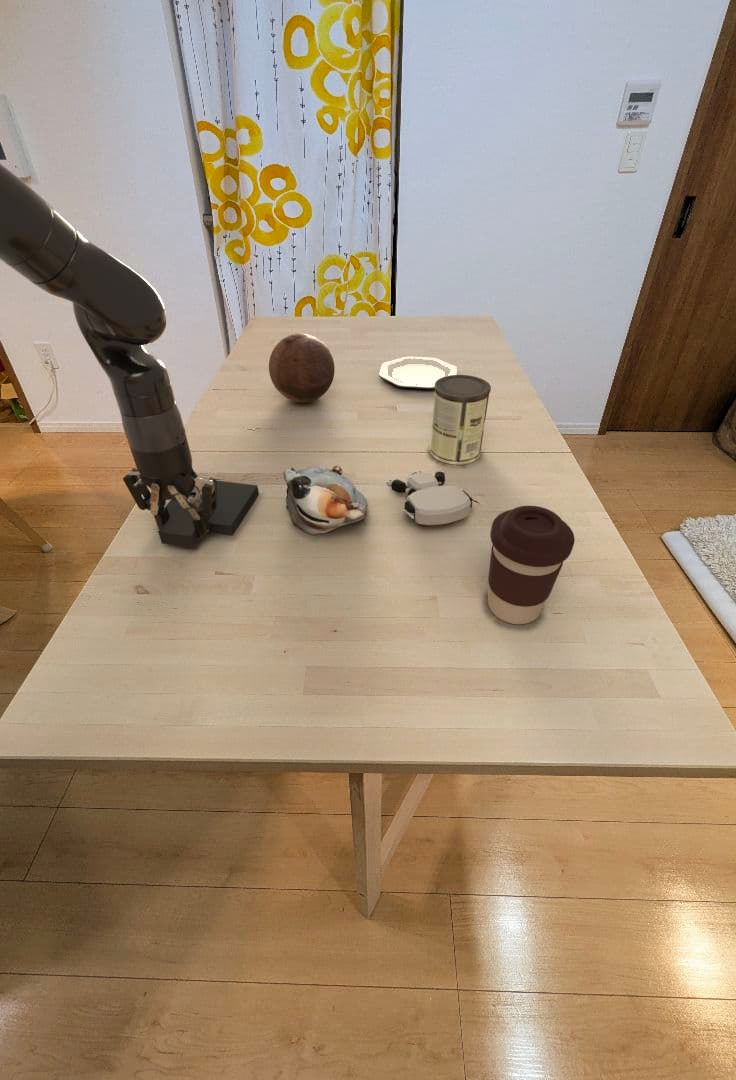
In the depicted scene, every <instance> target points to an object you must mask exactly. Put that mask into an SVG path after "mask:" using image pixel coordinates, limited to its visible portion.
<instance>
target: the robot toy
mask: <svg viewBox="0 0 736 1080" xmlns="http://www.w3.org/2000/svg"><path fill="white" fill-rule="evenodd" d="M445 483H446V473H445V471H444V470H436V471H435V472H434V474H433V473H432V472H427V471H424V470H419V471H418V472H416V471H415V472H409V473H408V477H407V478H406V482H405V481H402V480H401V479H398V478H397V479H396V478H395V479H393V478H391V479H388V480H386V483H385V484H386V486H387V487H390V488H391V491H393V492H395V493H397V494H407V495H408V496H407V498H406V501H405V502H404V505H403V506H404V507H403V510H402V512H403V514H404V515H406V516H407V517H408V518H409V519H410V520H411V521H414V522H415V523H416V524H418V525H423V526H439V525H440V526H441V525H448V524H452V523H454V522H457V521H459V520H462V519H465V518H466V517H467V516H468V515H469V514H470V513H471V509H472V507H473V502H475V503H476V504H478V505H479V506H483V503H482V502H481V501H479V500H477V499H475V498H473V496H470V495H469V494H468V492H466V490H463V489H462V488H461V487H459V486H455V485H454V486H453V485H445Z"/></svg>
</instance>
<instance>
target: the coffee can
mask: <svg viewBox="0 0 736 1080" xmlns="http://www.w3.org/2000/svg"><path fill="white" fill-rule="evenodd" d="M491 391H492V386H491V384H490V383H489V382H488V381H487V380H485V379H483V378H481V377H478V376H475V375H474V376H473V375H469V374H468V375H467V374H457V375H451V376H445V377H442V378H440V379H438V380H437V381H436V382H435V388H434V398H433V409H432V410H433V412H432V423H431V438H430V447H429V453H430V456H432V458H434V459H435V460H437V461H439V462H441V463H444V464H448V465H453V466H454V465H456V466H461V465H462V466H463V465H468V464H471V463H474V462H476V461H477V460H478V459H479V458H480V457H481V454H482V453H481V451H482V445H483V438H484V433H485V431H484V430H485V424H486V418H487V411H488V405H489V398H490V393H491Z"/></svg>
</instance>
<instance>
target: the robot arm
mask: <svg viewBox="0 0 736 1080" xmlns="http://www.w3.org/2000/svg"><path fill="white" fill-rule="evenodd" d="M0 261H2V262H3V263H5V264H6V265H7V266H9V267H10V268H12V269H13V270H14V271H15V272H17V273H18V274H20V275H21V276H22V277H24V278H25V279H26V280H28V281H29V282H31V284H33V285H35V286H36V287H38V288H39V289H41V290H42V291H44V292H46V293H48V294H50V295H52V296H55V297H58V298H61V299H63V300H66V301H69V302H71V303H72V308H73V314H74V318H75V321H76V324H77V326H78V328H79V331H80V333H81V335H82V337H83V338H84V341H85V342H86V343H87V345H88V347H89V349H90V350H91V352H92V354H93V355H94V357H95V359H96V360H97V362H98V364H99V366H100V367H101V368H102V370H103V371H104V373H105V374H106V376H107V377H108V380H109V382H110V386H111V388H112V392H113V395H114V397H115V401H116V404H117V406H118V410H119V413H120V417H121V423H122V428H123V432H124V434H125V437H126V440H127V444H128V446H129V449H130V452H131V455H132V458H133V461H134V464H135V467H136V468H134V467H133V468H132V469H131V470H130V471H129V472H127V474H125V476H123V477H122V480H123V482H124V484H125V486H126V488H127V489H128V491H129V493H130V495H131V497H132V499H133V500H134V502H135V504H136V505H137V507H138V508H139V510H141V511H145V510H147V511H149V512H150V514H152V515H153V518H154V521H155V523H156V526H157V528H158V529H159V530H160V529H161V528H162V527H163V525H164V524H165V523H166V522H167V520H168V519H169V518H170V515H169V512H168V509H167V507H165V506H166V504H167V501H170V500H174V501H178V502H179V503H180V505H181V506H182V507H183V509H187V510H188V512H189V513H190V514H191V516H192V517H193V520H192V521H193V524H194V528H195V530H196V534H197V537H198V538H201V539H203V538H204V537H205V536H206V534H207V533H209V531H208V530H209V525H208V520H207V519H208V518H210V517H211V515H212V513H213V512H214V511H215V510H216V508H217V481H218V480H217V479H216V478H215V477H213V476H211V477H209V478H208V479H207V480H206V479H205V478H202V477H199V475H198V474H197V473H196V471H195V470H194V468H193V457H192V453H191V450H190V445H189V441H188V438H187V437H188V436H187V433H186V429H185V426H184V421H183V418H182V414H181V412H180V409H179V407H178V405H177V401H176V397H175V394H174V389H173V386H172V382H171V378H170V376H169V372H168V369H167V366H166V365H165V363H164V362H163V361H162V360H161V359H160V358H158V357H156V356H154V355H153V354H151V353H150V352H149V351H148V350H146V349H145V347H144V346H146V345H147V346H148V345H151V344H153V343H155V342H157V341H159V339H160V338H161V337H162V336H163V334H164V332H165V331H166V328H167V322H168V317H167V311H166V306H165V304H164V302H163V300H162V298H161V296H160V294H159V293H158V292H157V290H156V289H155V288H154V287H153V286H152V284H151V283H150V282H148V281H147V280H146V279H145V277H143V276H141V274H139V273H138V272H136V271H135V270H134V269H132V268H131V267H130V266H128V265H127V264H125V263H123V262H122V261H120V260H119V259H118V258H116V257H115V256H113V255H112V254H110V253H109V252H107V251H105V250H104V249H102V248H101V247H99V246H98V245H96V244H94V243H93V242H91V241H90V240H88V238H86V237H85V236H83V234H82V233H81V232H80V231H79V230H78V229H77V228H75V227H74V225H72V224H71V222H69V221H68V220H67V219H66V218H65V217H64V216H63V215H62V214H61V213H59V211H58V210H56V209H55V208H54V207H53V206H52V205H51V204H50V203H49V202H48V201H47V200H45V199H44V198H43V197H42V196H41V195H40V194H39V193H37V192H36V191H35V190H34V189H33V188H32V187H30V186H29V185H28V184H27V183H25V182H24V181H23V180H22V179H21V178H19V176H17V175H16V174H14V173H13V172H12V171H11V170H9V169H8V168H7V167H5V166H4V165H3V164H1V163H0ZM195 486H197V487H198V488H199V491H200V492H198V490H197V489H196V487H195ZM189 495H190V497H189V499H188V500H187V497H188V496H189ZM200 495H202V500H201V499H200ZM195 506H196V507H197V509H196V507H195Z"/></svg>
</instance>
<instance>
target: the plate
mask: <svg viewBox="0 0 736 1080" xmlns="http://www.w3.org/2000/svg"><path fill="white" fill-rule="evenodd" d="M409 358H410V359H414V358H415V359H423V360H433V361H436V362H438V363H440V364H441V365H443V366H445V367H448V368H449V369H451V370H450V373H449V374H448V376H451V375H458V367H457V366H456V365H453V364H451V363H448V362H446V361H444V360H442V359H439V358H437V357H425V356H403V357H399V358H396V359H393V360H388V361H385V362H383V363H382V364H381V367H380V370H379V373H378V377H379V378H380V379H383V380H385V381H387V382H388V383H390V384H392V385H394V386H396V387H398V388H406V389H407V388H408V389H424V390H435V382H436V381H437V380H438V379H440V378H442V377H444V376H445V372H444V371H443V370H441V369H439V368H437V367H434V366H432V365H425V364H407V365H404V366H400V367H397V368H394V369H393V372H392V377H393V378H392V377H390V376H389V375H388V366H389V365H391V364H395V363H397V362H401V361H403V360H404V359H409ZM394 378H395V379H394ZM396 379H397V380H396ZM398 380H399V381H398ZM400 381H401V382H400ZM402 382H403V383H402ZM416 384H417V385H416Z"/></svg>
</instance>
